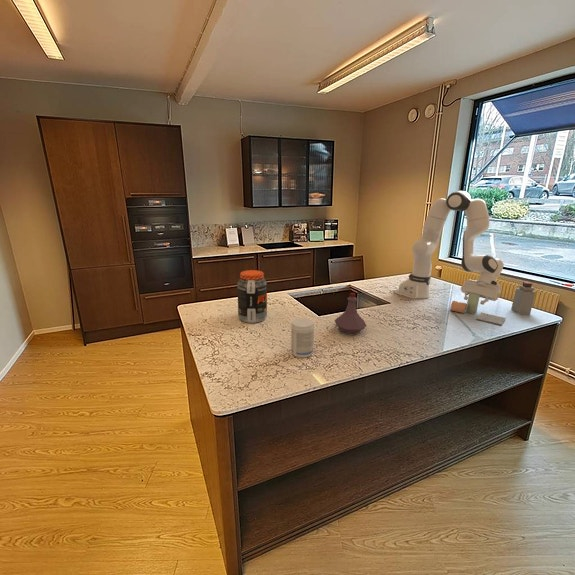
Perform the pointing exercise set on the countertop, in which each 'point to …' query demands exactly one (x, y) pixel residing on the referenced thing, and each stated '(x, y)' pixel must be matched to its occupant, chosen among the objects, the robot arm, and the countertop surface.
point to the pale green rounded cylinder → (472, 303)
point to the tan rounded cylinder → (458, 306)
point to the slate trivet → (490, 318)
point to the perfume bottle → (523, 298)
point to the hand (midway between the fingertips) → (473, 301)
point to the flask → (350, 318)
